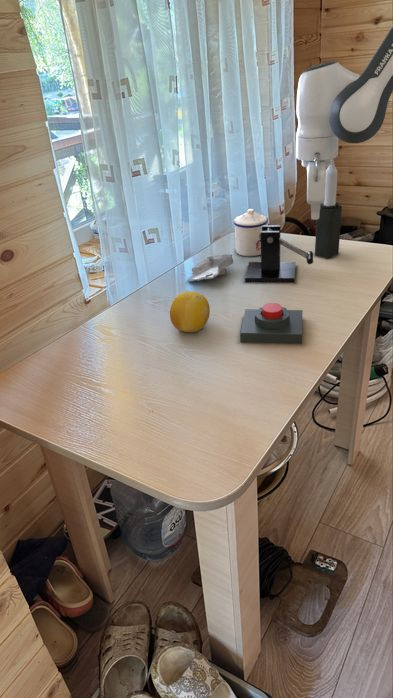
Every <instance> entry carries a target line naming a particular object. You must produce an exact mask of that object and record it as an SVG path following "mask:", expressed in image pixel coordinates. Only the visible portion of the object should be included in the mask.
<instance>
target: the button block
mask: <svg viewBox="0 0 393 698" xmlns="http://www.w3.org/2000/svg"><path fill="white" fill-rule="evenodd" d="M262 307H263V306H261V307H258V308H257V309H256V308H255V309H254V308H252V309H251V308H246V309H245V310H244V314H243V318H242V323H241V328H240V332H239V336H240V343H252V344H253V343H255V344H256V343H257V344H287V345H288V344H289V345H302V344H303V314H304V313H303V312H304V311H303V310H302V309H287V307H285V306H282V317H280V318H277V319H267V318H264V317H263V316H262Z"/></svg>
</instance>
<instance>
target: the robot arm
mask: <svg viewBox="0 0 393 698" xmlns="http://www.w3.org/2000/svg"><path fill="white" fill-rule="evenodd" d="M392 95H393V24H392V26H391V28H390V29H389V31H388V32H387V34H386V36H385V38H384V39H383V41H382V42H381V44H380V45H379V47H378V49H377V50H376V52H375V53H374V55H373V56H372V58H371V59H370V61H369V63H368V64H367V66H366V67H365V69H364V70H363V71H362V73H361V74H358V73H356V72H354V71H351V70H350V69H348V68H346V67H344V66H343V65H342V64H340V63H339V62H338V61H335V60H333V61H332V60H331V61H326V62H322V63H321V62H320V63H319V64H315V65H313V66H310V67H308V68H306V69H305V70H304V71H302V73H301V74H300V77H299V79H298V85H297V93H296V118H297V122H298V125H297V130H296V132H295V133H296V134H295V135H296V137H295V138H296V139H295V158H296V159H297V160H298V161H301V166H302V167H303V168H306V176H307V177H306V182H307V183H306V202H307V204H308V205H310V219H311V220H315V221H316V220H317V219H319V213H320V205H321V204H322V203H324V201H325V182H326V170H327V168H328V167H329V166H330V165H331V162H332V161H331V160H332V159H333V158H334V159H336V158H337V157H339V140H340V141H342V142H344V143H348V144H361V143H364V142H367V141H369V140H370V139H372V138H373V137H374V136H376V134H377V133H379V131H380V129H381V128H382V126H383V123H384V120H385V117H386V112H387V110H388V107H389V102H390V98H391V96H392Z"/></svg>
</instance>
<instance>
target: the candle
mask: <svg viewBox="0 0 393 698" xmlns="http://www.w3.org/2000/svg"><path fill="white" fill-rule="evenodd" d="M331 161H332V162H331V165H330V166H327V167H326V182H325V201H324V203H322V204H321V205H320V213H319V219H317V220H315V221H316V222H315V240H314V241H315V243H314V255H315V256H316V257H319V258H323V259H332V258H334V257H335V256H338V255H339V253H340V237H341V226H342V225H341V223H342V211H343V206H342V205H341V204H339V202H337V188H338V174H339V171H338V169H337V167H336V164H335V158H333V159H332V160H331Z"/></svg>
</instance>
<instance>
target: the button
mask: <svg viewBox="0 0 393 698" xmlns="http://www.w3.org/2000/svg"><path fill="white" fill-rule="evenodd" d="M261 307H262V316H263V317H264V318H267V319H277V318H280V317H282V307H283V305H281V304H279V303H277V302H269V303H265V304H263V305H262V306H261Z"/></svg>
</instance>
